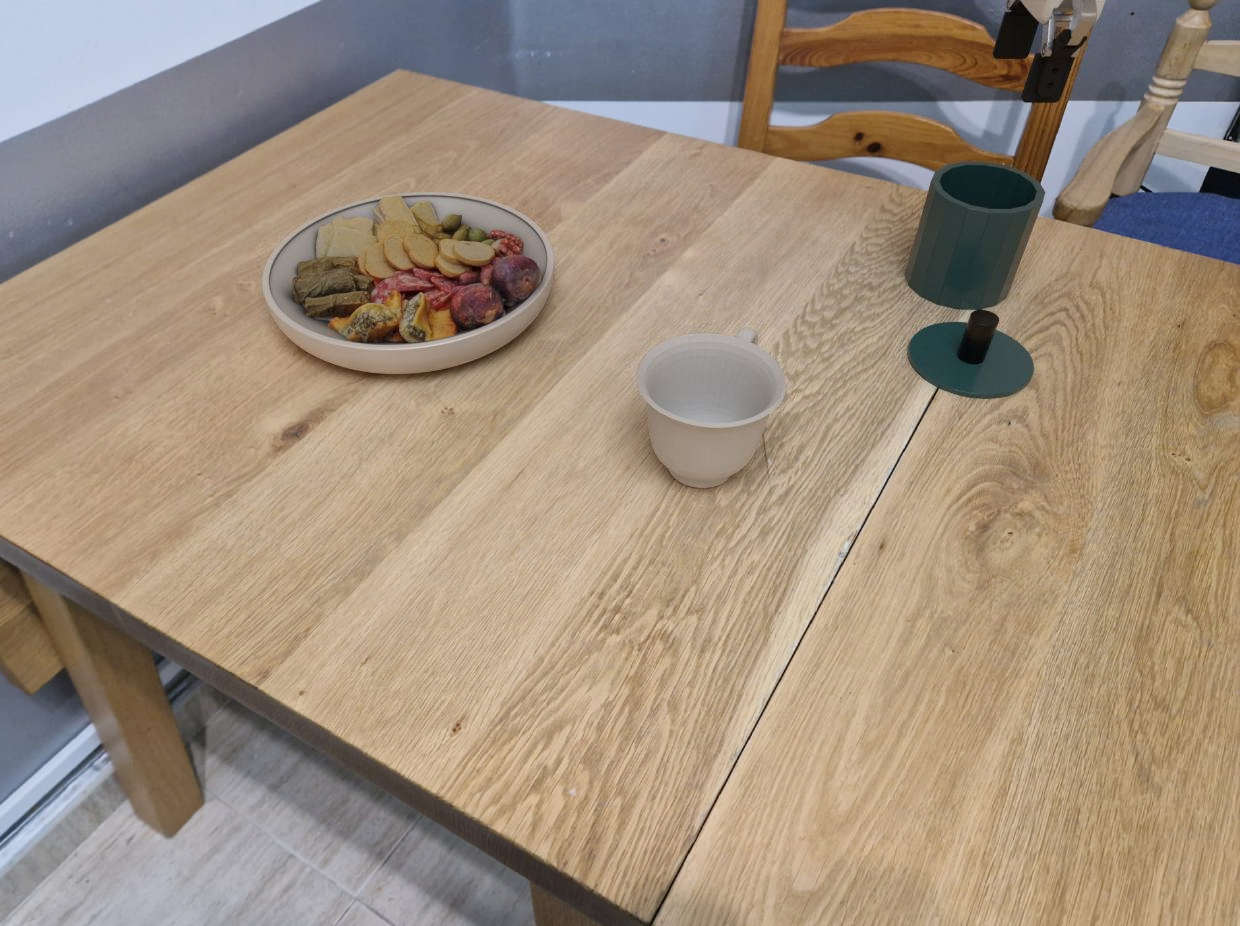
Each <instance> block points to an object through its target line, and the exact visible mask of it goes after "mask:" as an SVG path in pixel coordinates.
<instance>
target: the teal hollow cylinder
mask: <svg viewBox="0 0 1240 926" xmlns="http://www.w3.org/2000/svg"><path fill="white" fill-rule="evenodd" d="M1045 195H1046V191H1045V189H1044V187H1043V185H1042V184H1041V182H1040V181H1038V179H1036V178H1035V177H1033V176H1031V175H1029V173H1027V172H1025V171H1023V170H1020V169H1017V168H1015V167H1012V166H1010V165H1006V164H1001V163H996V162H990V161H975V160H974V161H973V160H972V161H968V160H967V161H964V160H963V161H958V162H954V163H948V164H945V165H944V166H943V167H940V168H939V169H936V170H935V171H934V173H933V176H932V177H931V180H930V182H929V187H928V190H927V193H926V198H925V201H924V205H923V208H922V210H921V211H922V212H921V215H920V219H919V222H918V226H917V230H916V232H915V237H914V241H913V243H912V248H911V251H910V255H909V258H908V260H907V261H908V262H907V265H906V269H905V272H904V278H905V281H906V283H907V286H908V287H909V288H910V289H911V290H912V291H913V292H914V293H915V294H916V295H917V296H918V297H920V298H922V299H924V300H926V301H928V302H930V303H932V304H934V305H937V306H941V307H945V308H949V309H953V310H959V311H975V310H986V309H989V308H993V307H997V306H998V305H999V304H1001V303H1002V302H1003V301H1005V300H1006V299H1007V298H1008V296H1009V293H1010V290H1011V288H1012V285H1013V282H1014V280H1015V277H1016V274H1017V271H1018V269H1019V267H1020V264H1021V261H1022V259H1023V256H1024V254H1025V251H1026V248H1027V245H1028V242H1029V241H1030V239H1031V238H1030V237H1031V235H1032V233H1033V231H1034V227H1035V224H1036V222H1037V219H1038V216H1039V213H1040V211H1041V208H1042V205H1043V203H1044V199H1045Z"/></svg>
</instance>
